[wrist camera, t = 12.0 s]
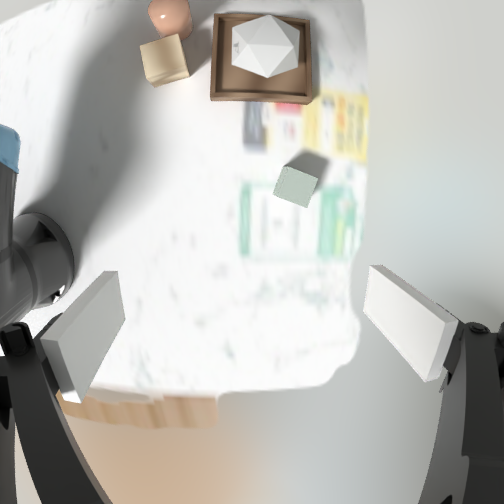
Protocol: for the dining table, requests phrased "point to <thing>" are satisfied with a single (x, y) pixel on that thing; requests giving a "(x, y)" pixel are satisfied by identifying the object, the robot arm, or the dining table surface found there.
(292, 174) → the grey-green block
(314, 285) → the dining table surface
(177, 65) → the oak block
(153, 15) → the peach rounded capsule
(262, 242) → the dining table surface
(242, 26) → the die
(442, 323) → the robot arm
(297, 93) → the walnut tray
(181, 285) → the dining table surface
